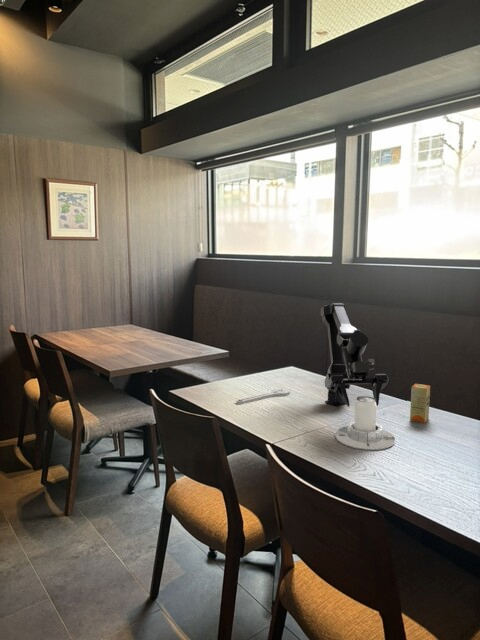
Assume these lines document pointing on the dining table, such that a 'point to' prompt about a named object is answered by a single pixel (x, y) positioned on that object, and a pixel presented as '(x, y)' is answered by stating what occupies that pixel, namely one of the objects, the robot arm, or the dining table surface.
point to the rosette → (365, 438)
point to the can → (365, 414)
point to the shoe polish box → (420, 403)
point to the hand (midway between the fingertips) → (363, 405)
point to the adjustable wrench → (264, 396)
